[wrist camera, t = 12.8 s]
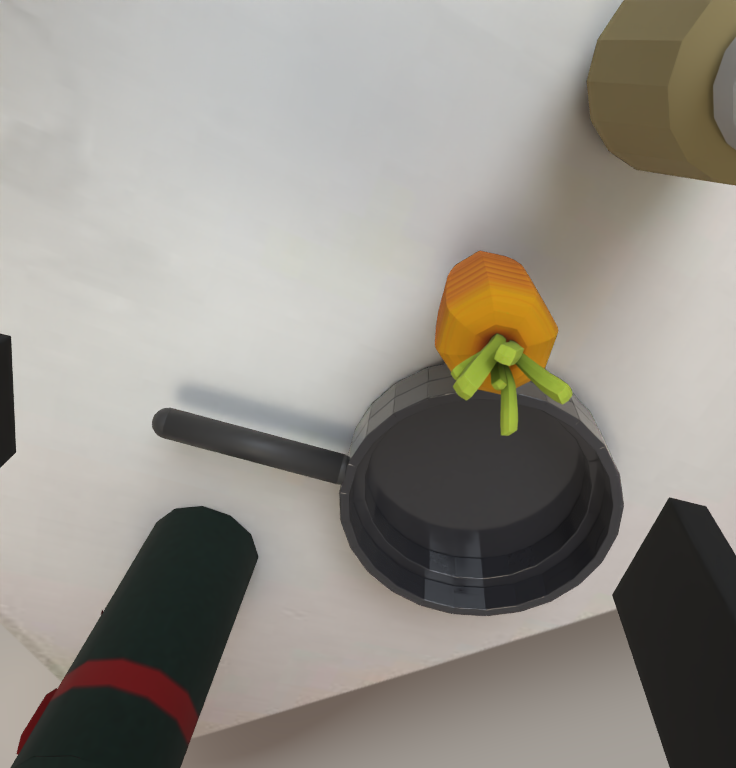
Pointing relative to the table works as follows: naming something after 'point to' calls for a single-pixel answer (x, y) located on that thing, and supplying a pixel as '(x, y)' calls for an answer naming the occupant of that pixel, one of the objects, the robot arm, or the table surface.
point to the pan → (478, 496)
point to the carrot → (496, 333)
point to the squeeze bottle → (668, 87)
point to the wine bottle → (148, 652)
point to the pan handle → (250, 445)
